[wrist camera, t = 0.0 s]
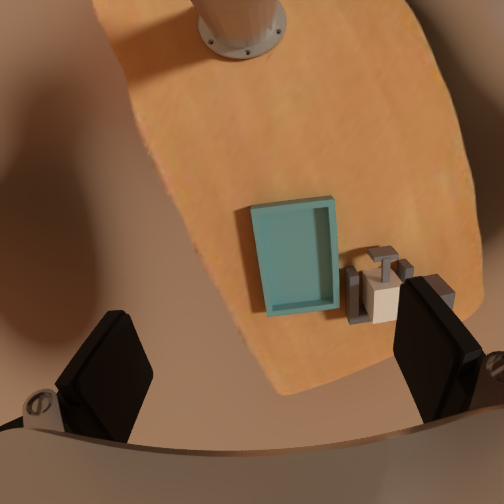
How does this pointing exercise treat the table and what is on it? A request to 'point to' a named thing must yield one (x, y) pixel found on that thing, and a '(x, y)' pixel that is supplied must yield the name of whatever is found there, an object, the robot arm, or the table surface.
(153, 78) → the table surface
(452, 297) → the bay
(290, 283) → the tray
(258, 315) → the table surface
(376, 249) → the t-handle cube
